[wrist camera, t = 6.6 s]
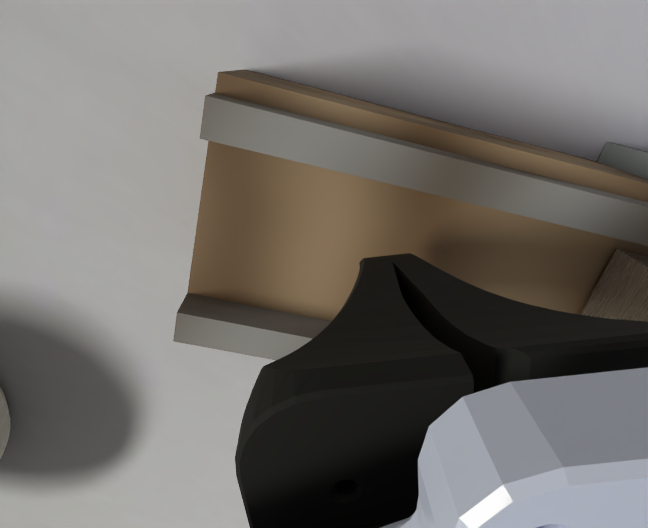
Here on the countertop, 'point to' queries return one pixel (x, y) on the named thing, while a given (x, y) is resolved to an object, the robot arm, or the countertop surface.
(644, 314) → the plunger
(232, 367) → the countertop surface
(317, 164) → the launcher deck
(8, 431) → the ramekin
